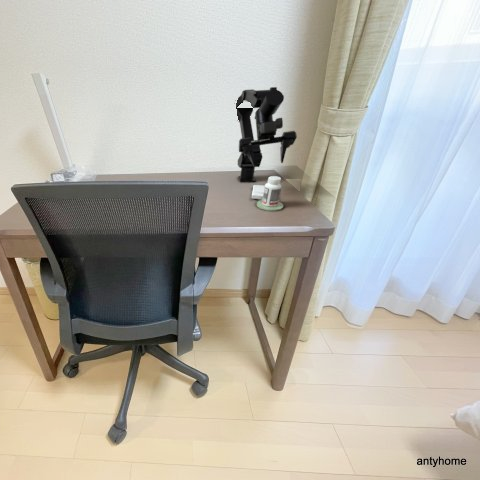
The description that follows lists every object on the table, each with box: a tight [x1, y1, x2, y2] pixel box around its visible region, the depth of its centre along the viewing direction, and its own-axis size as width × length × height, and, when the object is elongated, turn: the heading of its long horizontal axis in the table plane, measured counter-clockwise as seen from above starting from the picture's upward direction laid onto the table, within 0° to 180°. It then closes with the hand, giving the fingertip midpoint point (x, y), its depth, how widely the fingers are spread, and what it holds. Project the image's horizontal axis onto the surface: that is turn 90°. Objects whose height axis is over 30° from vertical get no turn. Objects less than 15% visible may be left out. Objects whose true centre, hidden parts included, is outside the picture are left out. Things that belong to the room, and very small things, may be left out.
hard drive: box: [251, 184, 265, 200], centre depth 101 cm, size 2×8×12 cm
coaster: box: [256, 199, 284, 212], centre depth 93 cm, size 9×9×1 cm
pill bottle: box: [262, 175, 282, 207], centre depth 90 cm, size 5×5×10 cm
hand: (268, 164), depth 91 cm, fingers open, 9 cm apart
